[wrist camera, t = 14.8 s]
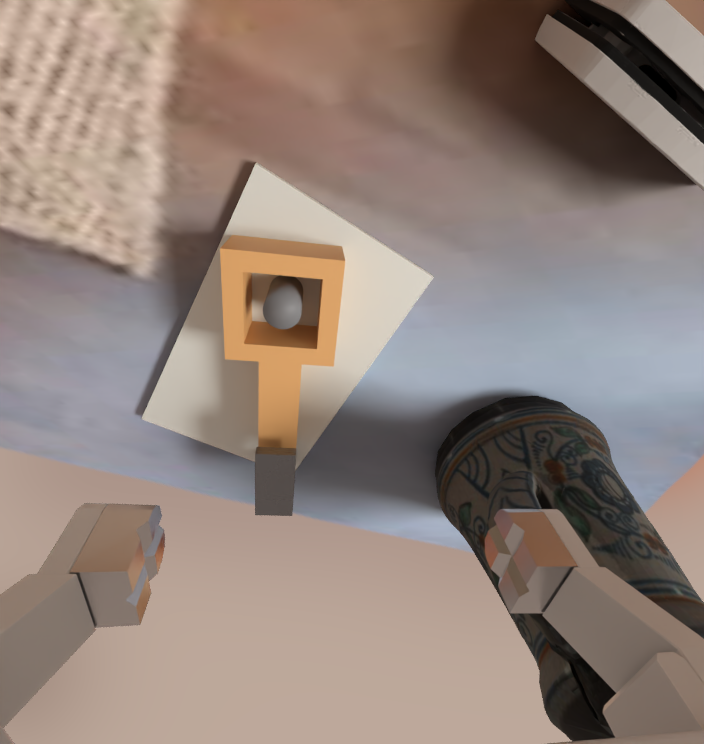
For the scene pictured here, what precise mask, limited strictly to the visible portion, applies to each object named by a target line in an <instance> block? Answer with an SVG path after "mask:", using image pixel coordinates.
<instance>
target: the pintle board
mask: <svg viewBox="0 0 704 744" xmlns="http://www.w3.org/2000/svg"><path fill="white" fill-rule="evenodd" d="M232 235H239V236H249V237H258V238H268V239H277V240H287V241H296V242H306V243H315V244H325V245H334V246H342V248H343V253H344V257H345V269H344V278H343V287H342V296H341V305H340V314H339V323H338V332H337V342H336V351H335V360H334V367H332V366H317V365H302V368H301V384H300V399H299V415H298V430H297V445H296V450H297V451H296V466H295V471H296V469H297V468H298V466H299V465H300V464H301V462H302V461H303V459H304V458H305V457H306V455H307V454H308V452H309V451H310V450H311V448H312V447H313V445H314V444H315V443H316V441H317V440H318V438H319V437H320V436H321V434H322V433H323V431H324V430H325V429H326V427H327V426H328V424H329V423H330V422H331V420H332V419H333V417H334V416H335V415H336V413H337V412H338V410H339V409H340V408H341V406H342V405H343V403H344V402H345V401H346V399H347V398H348V396H349V395H350V394H351V392H352V391H353V389H354V388H355V387H356V385H357V384H358V382H359V381H360V380H361V378H362V377H363V375H364V374H365V373H366V371H367V370H368V368H369V367H370V366H371V364H372V363H373V361H374V360H375V359H376V357H377V356H378V354H379V353H380V352H381V350H382V349H383V347H384V346H385V345H386V343H387V342H388V340H389V339H390V338H391V336H392V335H393V333H394V332H395V331H396V329H397V328H398V326H399V325H400V324H401V322H402V321H403V319H404V318H405V317H406V315H407V314H408V312H409V311H410V310H411V308H412V307H413V306H414V304H415V303H416V301H417V300H418V299H419V297H420V296H421V294H422V293H423V292H424V290H425V289H426V287H427V286H428V285H429V283H430V282H431V280H432V279H433V278H434V277H433V276H432V275H431V274H430V273H429V272H427V271H425V270H424V269H422V268H421V267H419V266H418V265H416V264H414V263H413V262H411V261H410V260H408V259H407V258H405V257H404V256H402V255H400V254H399V253H397V252H396V251H394V250H393V249H391V248H390V247H388V246H386V245H385V244H383V243H382V242H380V241H379V240H377V239H375V238H374V237H372V236H371V235H369V234H368V233H366V232H365V231H363V230H361V229H360V228H358V227H357V226H355V225H354V224H352V223H351V222H349V221H347V220H346V219H344V218H343V217H341V216H340V215H338V214H336V213H335V212H333V211H332V210H330V209H329V208H327V207H326V206H324V205H322V204H321V203H319V202H318V201H316V200H315V199H313V198H312V197H310V196H308V195H307V194H305V193H304V192H302V191H301V190H299V189H297V188H296V187H294V186H293V185H291V184H290V183H288V182H287V181H285V180H283V179H282V178H280V177H279V176H277V175H276V174H274V173H272V172H271V171H269V170H268V169H266V168H265V167H263V166H262V165H260V164H258V163H256V164H255V166H254V168H253V170H252V173H251V175H250V177H249V179H248V182H247V184H246V186H245V188H244V191H243V193H242V195H241V197H240V200H239V202H238V204H237V206H236V208H235V211H234V213H233V215H232V217H231V220H230V222H229V224H228V226H227V229H226V231H225V233H224V235H223V238H222V240H221V242H220V244H219V246H218V249H217V251H216V253H215V255H214V258H213V260H212V262H211V264H210V267H209V269H208V271H207V273H206V276H205V278H204V280H203V282H202V285H201V287H200V289H199V291H198V293H197V296H196V298H195V300H194V302H193V305H192V307H191V309H190V311H189V314H188V316H187V318H186V320H185V323H184V325H183V327H182V329H181V332H180V334H179V336H178V338H177V340H176V343H175V345H174V347H173V349H172V352H171V354H170V356H169V358H168V361H167V363H166V365H165V367H164V370H163V372H162V374H161V376H160V378H159V381H158V383H157V385H156V387H155V390H154V392H153V394H152V396H151V399H150V401H149V403H148V405H147V408H146V410H145V412H144V414H143V417H142V419H143V420H145V421H148V422H151V423H153V424H156V425H158V426H161V427H164V428H166V429H169V430H172V431H174V432H177V433H180V434H182V435H185V436H187V437H190V438H193V439H195V440H198V441H201V442H203V443H206V444H209V445H211V446H214V447H217V448H219V449H222V450H224V451H227V452H230V453H232V454H235V455H238V456H240V457H243V458H246V459H248V460H251V461H254V462H255V452H256V447H258V401H259V362H257V361H242V360H228V359H225V350H224V327H223V305H222V282H221V260H220V248H221V247H222V246H223V244H224V243H225V242H226V241H227V240H228V239H229V238H230V237H231V236H232ZM320 284H321V279H314V278H303V277H293V276H282V275H272V274H261V273H252V321H258V322H268V323H269V324H270V325H271V326H273V327H275V328H277V329H289V328H291V327H293V326H295V325H308V326H317V321H318V309H319V296H320Z"/></svg>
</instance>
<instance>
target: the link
mask: <svg viewBox="0 0 704 744" xmlns="http://www.w3.org/2000/svg"><path fill="white" fill-rule="evenodd" d="M220 260H221V282H222V305H223V327H224V350H225V359H228V360H242V361H257V362H259V401H258V447H276V448H296V445H297V430H298V415H299V399H300V384H301V368H302V365H317V366H332V367H334V360H335V351H336V342H337V332H338V323H339V314H340V305H341V296H342V287H343V278H344V269H345V257H344V253H343V248H342V246H334V245H325V244H315V243H306V242H296V241H287V240H277V239H268V238H258V237H249V236H239V235H232V236H231V237H230V238H229V239H228V240H227V241H226V242H225V243H224V244H223V246H222V247H221V248H220ZM252 273H261V274H272V275H282V276H293V277H303V278H314V279H321V284H320V296H319V309H318V321H317V326H308V325H295V326H293V327H291V328H289V329H277V328H275V327H273V326H271V325H270V324H269V323H268V322H258V321H252Z"/></svg>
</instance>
